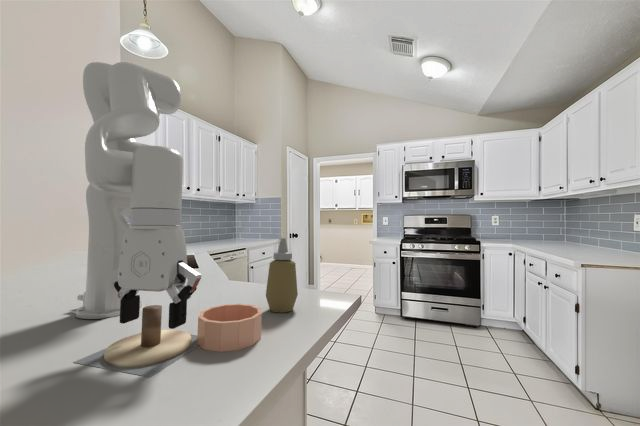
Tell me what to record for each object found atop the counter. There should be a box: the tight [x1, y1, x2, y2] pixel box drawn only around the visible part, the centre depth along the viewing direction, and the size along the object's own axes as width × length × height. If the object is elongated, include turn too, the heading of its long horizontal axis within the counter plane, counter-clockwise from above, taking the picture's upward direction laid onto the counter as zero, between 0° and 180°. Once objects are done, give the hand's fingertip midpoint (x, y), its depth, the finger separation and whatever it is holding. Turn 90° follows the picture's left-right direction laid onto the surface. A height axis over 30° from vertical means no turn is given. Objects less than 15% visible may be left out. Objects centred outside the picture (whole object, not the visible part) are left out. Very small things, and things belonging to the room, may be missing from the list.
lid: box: [104, 304, 192, 367], centre depth 47 cm, size 12×12×7 cm
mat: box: [73, 333, 201, 378], centre depth 47 cm, size 14×14×1 cm
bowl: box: [197, 303, 263, 353], centre depth 52 cm, size 11×11×5 cm
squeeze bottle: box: [265, 237, 299, 313], centre depth 71 cm, size 8×8×18 cm
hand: (152, 323), depth 47 cm, fingers open, 9 cm apart
